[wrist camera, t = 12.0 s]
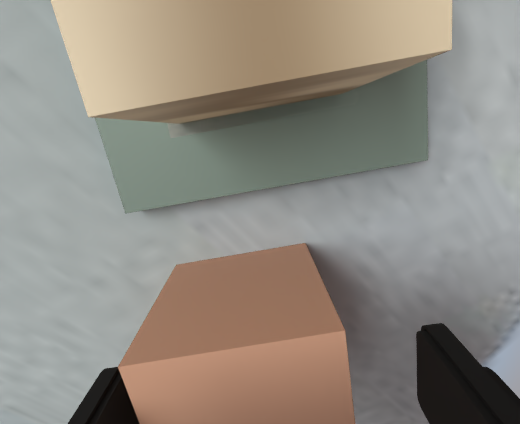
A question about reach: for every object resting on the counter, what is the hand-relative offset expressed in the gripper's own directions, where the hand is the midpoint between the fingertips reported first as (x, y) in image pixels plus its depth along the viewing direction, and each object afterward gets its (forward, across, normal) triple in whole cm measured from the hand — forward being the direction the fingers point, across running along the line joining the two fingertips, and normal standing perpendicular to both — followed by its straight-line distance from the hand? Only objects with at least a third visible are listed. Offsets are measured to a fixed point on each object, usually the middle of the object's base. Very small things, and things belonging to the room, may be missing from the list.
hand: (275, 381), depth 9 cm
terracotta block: (+5, +1, +1) cm, 5 cm away
